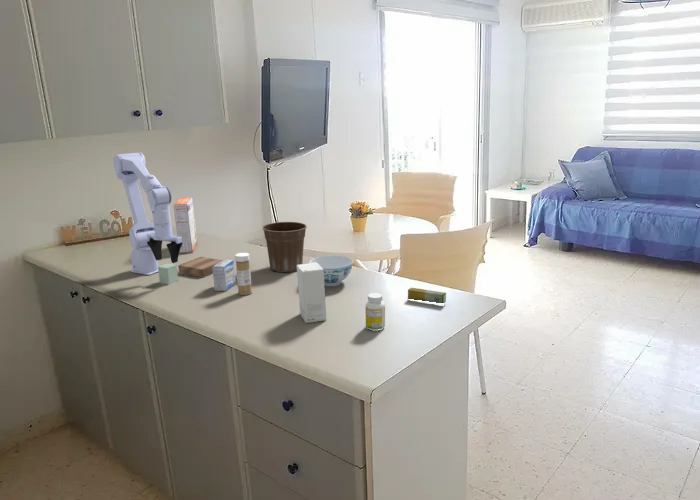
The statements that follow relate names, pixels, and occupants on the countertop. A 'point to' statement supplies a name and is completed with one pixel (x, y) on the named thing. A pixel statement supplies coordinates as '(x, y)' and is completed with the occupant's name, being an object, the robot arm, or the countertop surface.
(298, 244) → the plant pot
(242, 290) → the sprinkles bottle
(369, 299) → the supplement bottle
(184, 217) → the cracker box
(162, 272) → the sage block
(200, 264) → the walnut block
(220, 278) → the medicine box
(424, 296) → the medication box
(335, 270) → the chinaware
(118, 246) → the countertop surface
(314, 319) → the skincare box
